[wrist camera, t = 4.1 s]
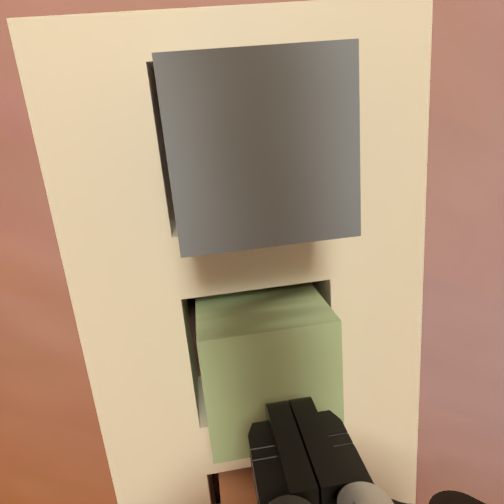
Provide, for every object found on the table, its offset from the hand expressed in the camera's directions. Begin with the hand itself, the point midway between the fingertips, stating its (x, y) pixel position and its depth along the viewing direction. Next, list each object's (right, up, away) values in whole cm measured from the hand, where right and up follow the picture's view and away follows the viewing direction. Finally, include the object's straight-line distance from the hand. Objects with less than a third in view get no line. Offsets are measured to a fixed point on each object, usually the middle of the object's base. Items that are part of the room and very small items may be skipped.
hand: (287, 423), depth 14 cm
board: (-1, +2, +8) cm, 8 cm away
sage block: (-1, +2, +7) cm, 7 cm away
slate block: (-2, +10, +3) cm, 10 cm away
